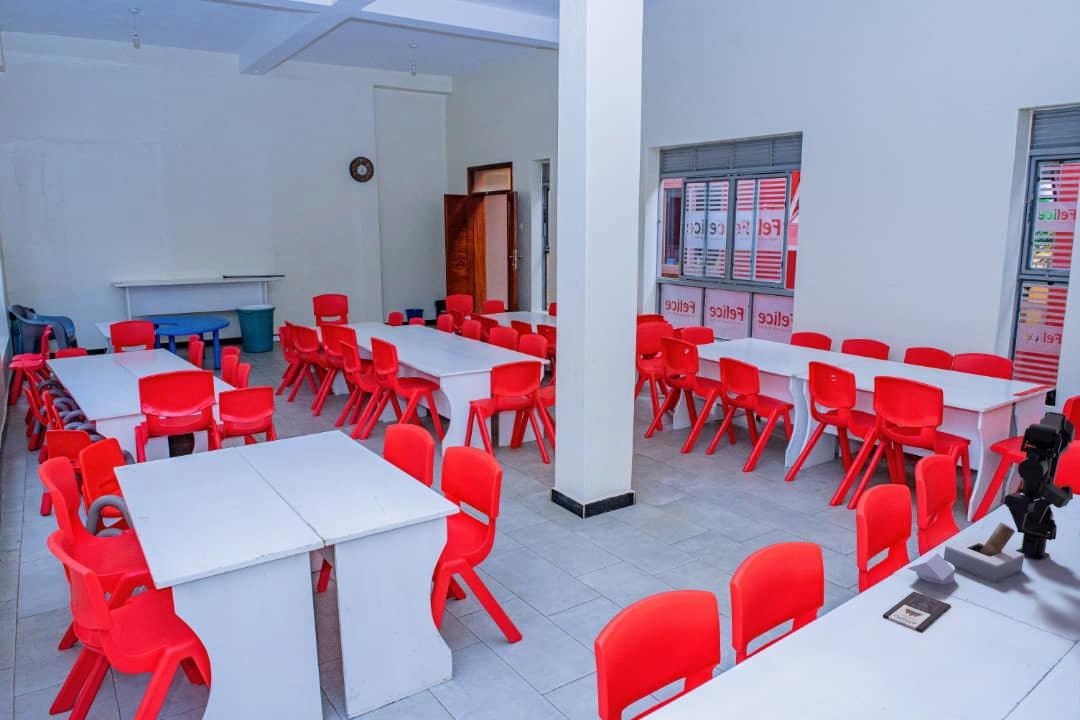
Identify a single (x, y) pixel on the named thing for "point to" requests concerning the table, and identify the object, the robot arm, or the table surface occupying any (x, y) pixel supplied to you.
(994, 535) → the peg
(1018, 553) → the box
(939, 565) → the wedge on round base
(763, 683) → the table surface
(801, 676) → the table surface
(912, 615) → the chocolate bar
